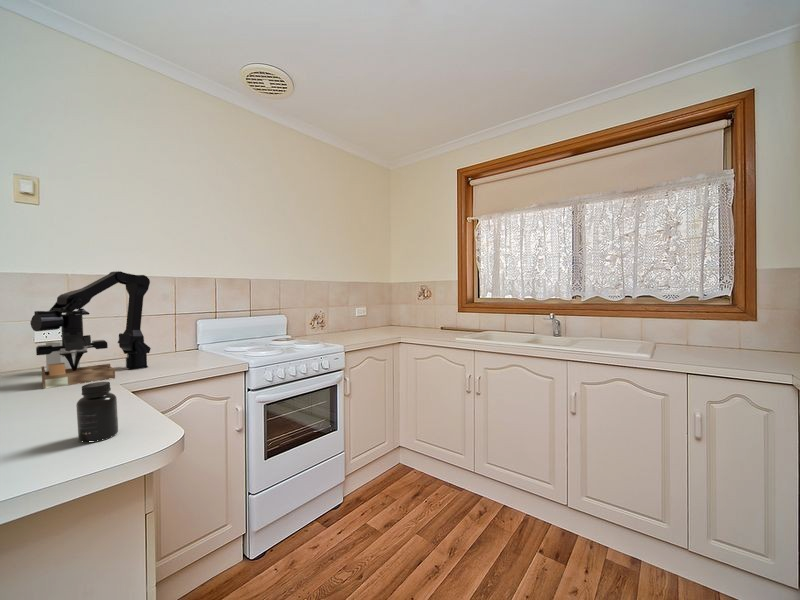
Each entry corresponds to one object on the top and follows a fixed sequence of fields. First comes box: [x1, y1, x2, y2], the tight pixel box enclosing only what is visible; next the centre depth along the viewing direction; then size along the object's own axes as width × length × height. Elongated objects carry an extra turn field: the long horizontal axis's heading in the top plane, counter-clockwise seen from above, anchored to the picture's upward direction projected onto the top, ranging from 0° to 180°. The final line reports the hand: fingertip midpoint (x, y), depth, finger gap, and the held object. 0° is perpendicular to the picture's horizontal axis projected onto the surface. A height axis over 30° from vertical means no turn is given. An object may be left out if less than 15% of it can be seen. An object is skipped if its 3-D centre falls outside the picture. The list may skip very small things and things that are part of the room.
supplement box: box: [45, 340, 81, 372], centre depth 143 cm, size 7×7×13 cm
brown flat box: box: [41, 363, 116, 390], centre depth 128 cm, size 19×11×6 cm, turn 137°
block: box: [49, 363, 65, 376], centre depth 124 cm, size 4×4×4 cm
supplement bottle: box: [76, 381, 119, 442], centre depth 78 cm, size 7×7×12 cm
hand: (74, 370), depth 128 cm, fingers closed
